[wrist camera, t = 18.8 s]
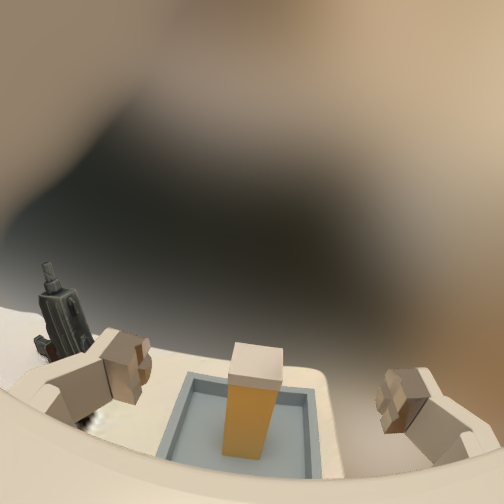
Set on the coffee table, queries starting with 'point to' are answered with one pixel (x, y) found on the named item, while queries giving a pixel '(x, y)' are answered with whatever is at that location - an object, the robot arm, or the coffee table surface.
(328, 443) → the coffee table surface
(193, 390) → the parts tray
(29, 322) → the coffee table surface
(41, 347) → the gun
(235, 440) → the block
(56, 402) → the robot arm
